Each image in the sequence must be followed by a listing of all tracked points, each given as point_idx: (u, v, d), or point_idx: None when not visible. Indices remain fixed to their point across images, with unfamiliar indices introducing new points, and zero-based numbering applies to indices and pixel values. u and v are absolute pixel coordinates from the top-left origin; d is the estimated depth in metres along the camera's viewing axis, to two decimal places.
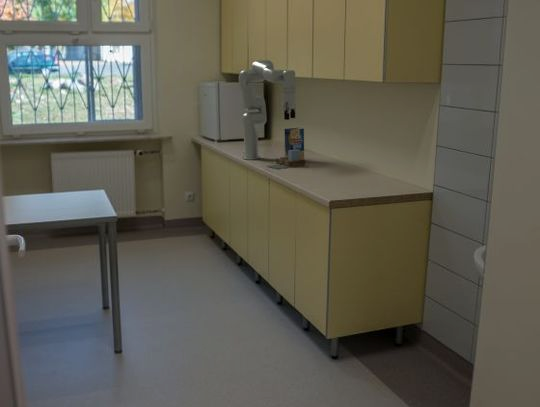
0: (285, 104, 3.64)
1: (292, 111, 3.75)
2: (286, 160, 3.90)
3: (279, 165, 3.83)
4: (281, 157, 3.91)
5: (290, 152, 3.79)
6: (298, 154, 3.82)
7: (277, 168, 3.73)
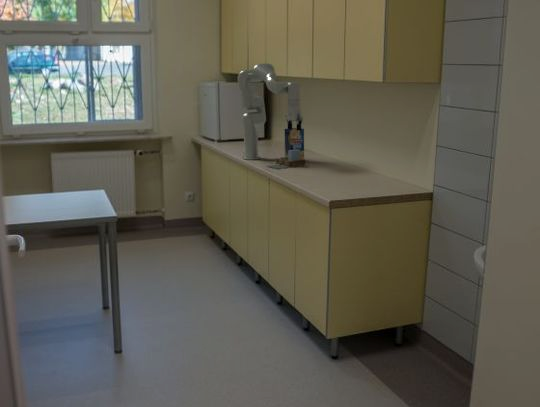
0: (300, 115, 3.71)
1: (290, 122, 3.81)
2: (286, 160, 3.90)
3: (279, 165, 3.83)
4: (281, 157, 3.91)
5: (290, 152, 3.79)
6: (298, 154, 3.82)
7: (277, 168, 3.73)
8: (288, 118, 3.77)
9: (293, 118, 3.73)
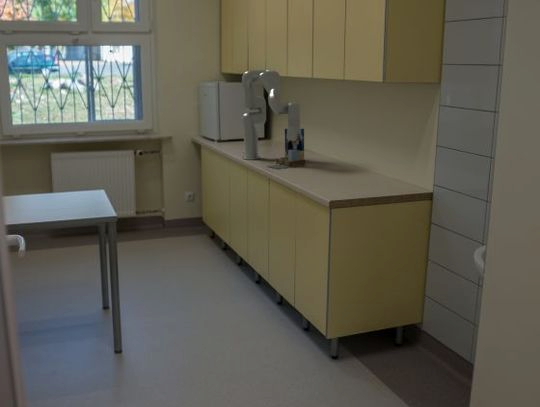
0: (300, 135, 3.74)
1: (290, 142, 3.84)
2: (286, 160, 3.89)
3: (279, 165, 3.83)
4: (281, 157, 3.91)
5: (290, 152, 3.79)
6: (298, 154, 3.82)
7: (277, 168, 3.73)
8: (288, 138, 3.80)
9: (293, 138, 3.76)
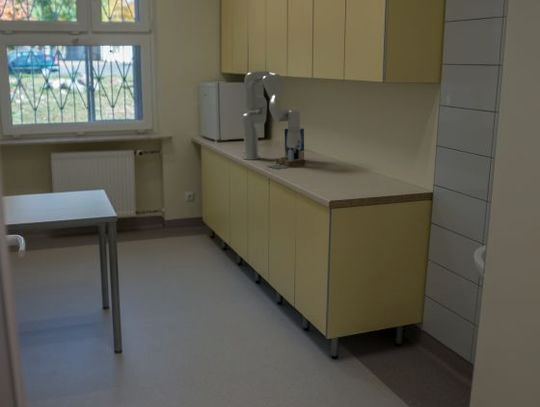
0: (299, 145, 3.76)
1: None
2: (287, 160, 3.89)
3: (279, 165, 3.83)
4: (282, 157, 3.91)
5: (290, 152, 3.79)
6: None
7: (277, 168, 3.73)
8: (288, 145, 3.81)
9: (293, 145, 3.77)
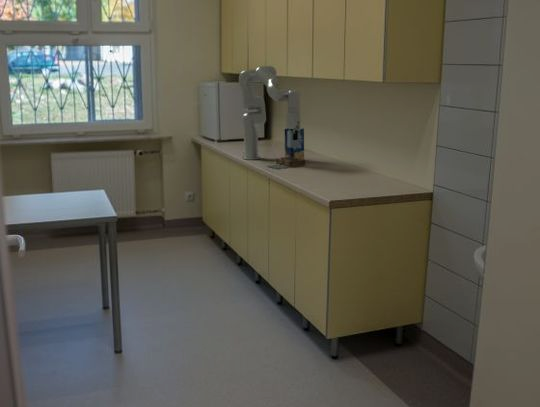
0: (298, 126, 3.74)
1: None
2: (287, 160, 3.89)
3: (279, 165, 3.83)
4: (281, 157, 3.91)
5: (289, 133, 3.77)
6: None
7: (277, 168, 3.73)
8: (287, 126, 3.79)
9: (292, 126, 3.74)
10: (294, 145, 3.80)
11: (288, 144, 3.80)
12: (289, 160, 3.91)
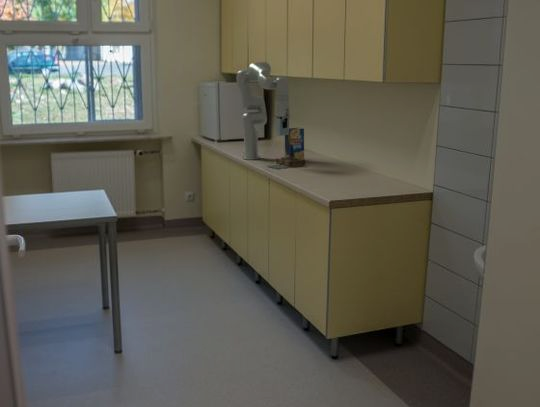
0: (288, 113, 3.69)
1: None
2: (287, 160, 3.89)
3: (279, 165, 3.83)
4: (282, 157, 3.91)
5: (278, 121, 3.72)
6: (287, 123, 3.74)
7: (277, 168, 3.73)
8: (276, 114, 3.74)
9: (282, 114, 3.69)
10: (284, 133, 3.75)
11: (278, 132, 3.74)
12: (289, 160, 3.91)
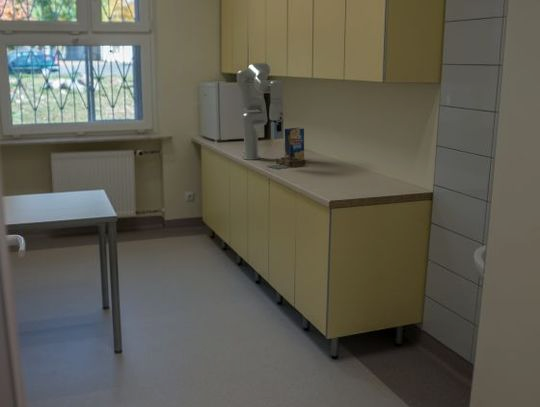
0: (282, 117, 3.67)
1: None
2: (287, 160, 3.90)
3: (279, 165, 3.83)
4: (282, 157, 3.91)
5: (273, 124, 3.71)
6: (281, 126, 3.73)
7: (277, 168, 3.73)
8: (271, 117, 3.73)
9: (276, 117, 3.68)
10: (278, 137, 3.73)
11: (272, 136, 3.73)
12: (289, 160, 3.91)
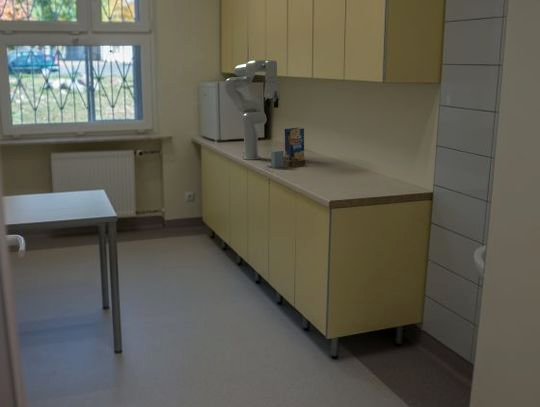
0: (277, 93, 3.80)
1: (267, 100, 3.90)
2: (286, 160, 3.91)
3: None
4: None
5: (273, 153, 3.75)
6: (281, 155, 3.77)
7: (277, 168, 3.73)
8: (266, 96, 3.86)
9: (270, 95, 3.82)
10: (278, 165, 3.78)
11: (272, 164, 3.78)
12: (287, 160, 3.92)
